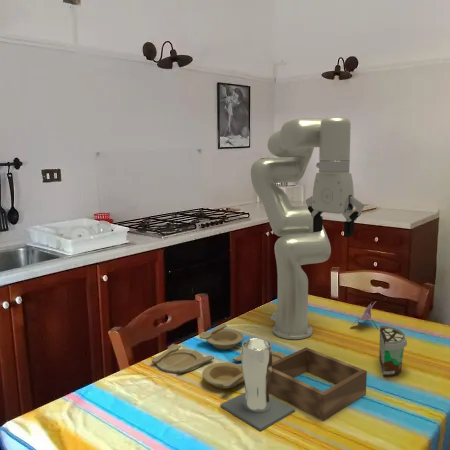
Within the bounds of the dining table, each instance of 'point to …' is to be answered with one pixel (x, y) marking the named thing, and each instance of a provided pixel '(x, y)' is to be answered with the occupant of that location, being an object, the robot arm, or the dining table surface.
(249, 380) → the beer glass
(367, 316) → the lily
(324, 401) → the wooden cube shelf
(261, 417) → the grey mat
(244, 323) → the dining table surface
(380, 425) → the dining table surface
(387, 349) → the food container
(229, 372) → the tableware set
